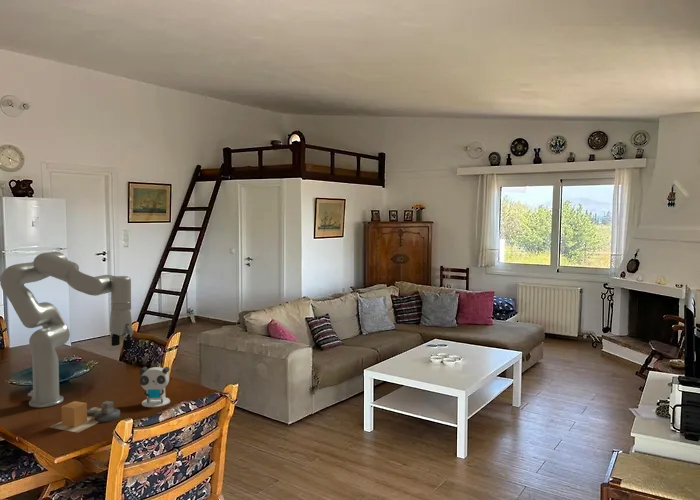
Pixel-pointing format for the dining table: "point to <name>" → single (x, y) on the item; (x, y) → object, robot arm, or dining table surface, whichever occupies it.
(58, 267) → the robot arm
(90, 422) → the board
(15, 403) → the dining table surface
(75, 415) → the tan wooden cube
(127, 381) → the dining table surface
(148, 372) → the panda figurine
